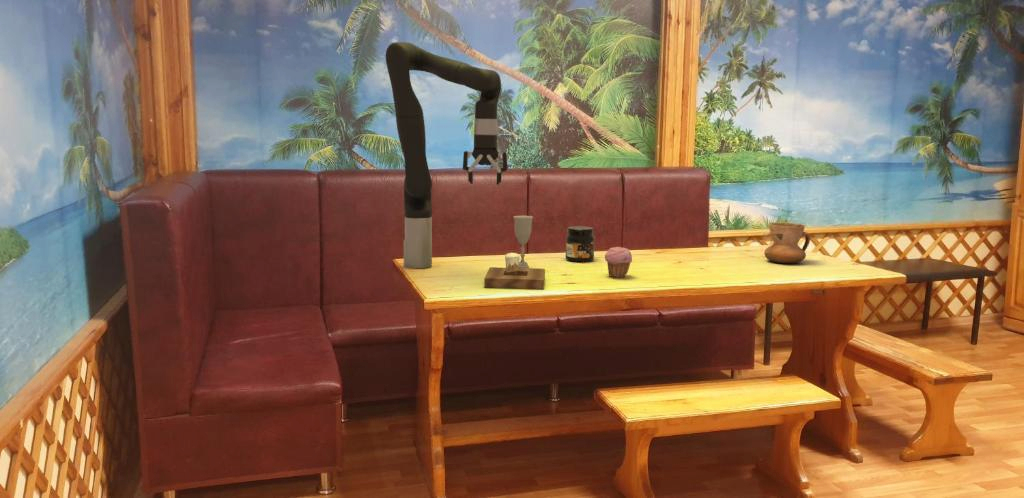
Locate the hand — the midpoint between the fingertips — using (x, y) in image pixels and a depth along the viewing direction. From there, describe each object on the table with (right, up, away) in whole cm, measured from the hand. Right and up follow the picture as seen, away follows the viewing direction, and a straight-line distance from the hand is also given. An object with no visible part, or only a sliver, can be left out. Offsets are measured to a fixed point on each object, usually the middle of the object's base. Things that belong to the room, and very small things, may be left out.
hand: (484, 184), depth 258 cm
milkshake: (+8, -31, -7) cm, 33 cm away
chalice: (+12, -28, +16) cm, 35 cm away
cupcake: (+44, -30, +5) cm, 53 cm away
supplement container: (+34, -25, +35) cm, 54 cm away
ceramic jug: (+110, -26, +37) cm, 119 cm away
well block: (+10, -32, -7) cm, 34 cm away
